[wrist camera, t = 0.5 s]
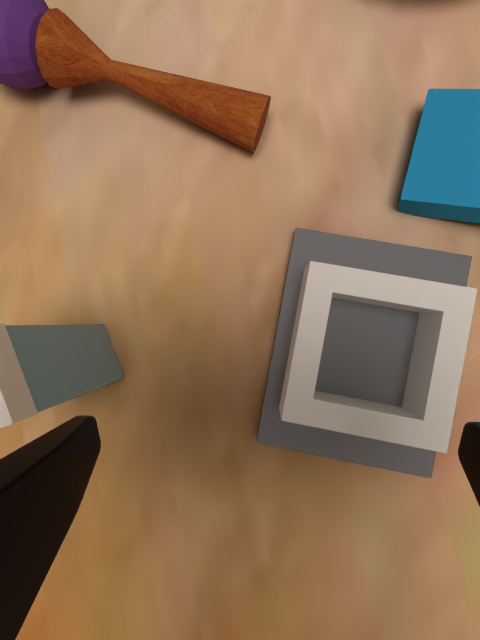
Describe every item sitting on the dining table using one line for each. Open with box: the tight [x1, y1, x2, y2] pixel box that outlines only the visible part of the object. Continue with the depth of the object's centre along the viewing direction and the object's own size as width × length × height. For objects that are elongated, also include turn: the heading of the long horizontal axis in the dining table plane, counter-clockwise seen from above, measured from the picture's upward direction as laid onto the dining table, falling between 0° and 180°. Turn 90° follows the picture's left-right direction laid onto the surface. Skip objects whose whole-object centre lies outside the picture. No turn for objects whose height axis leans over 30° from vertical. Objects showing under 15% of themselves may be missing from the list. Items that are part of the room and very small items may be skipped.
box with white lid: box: [0, 324, 124, 429], centre depth 19 cm, size 4×4×11 cm
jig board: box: [257, 228, 477, 478], centre depth 21 cm, size 14×11×4 cm
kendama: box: [0, 0, 271, 153], centre depth 22 cm, size 6×6×20 cm
